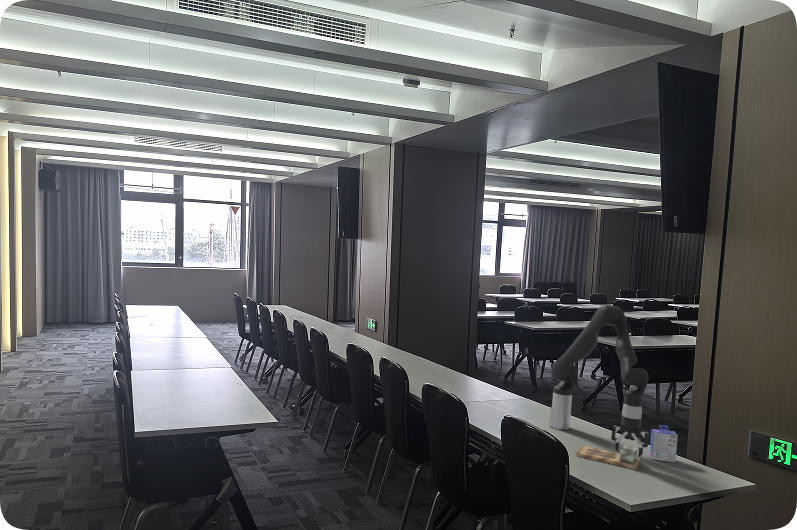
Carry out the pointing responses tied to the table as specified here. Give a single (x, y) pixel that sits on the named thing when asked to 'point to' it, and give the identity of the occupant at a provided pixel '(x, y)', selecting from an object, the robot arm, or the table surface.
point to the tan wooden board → (605, 456)
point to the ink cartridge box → (663, 444)
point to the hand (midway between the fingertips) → (628, 453)
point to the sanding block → (628, 454)
